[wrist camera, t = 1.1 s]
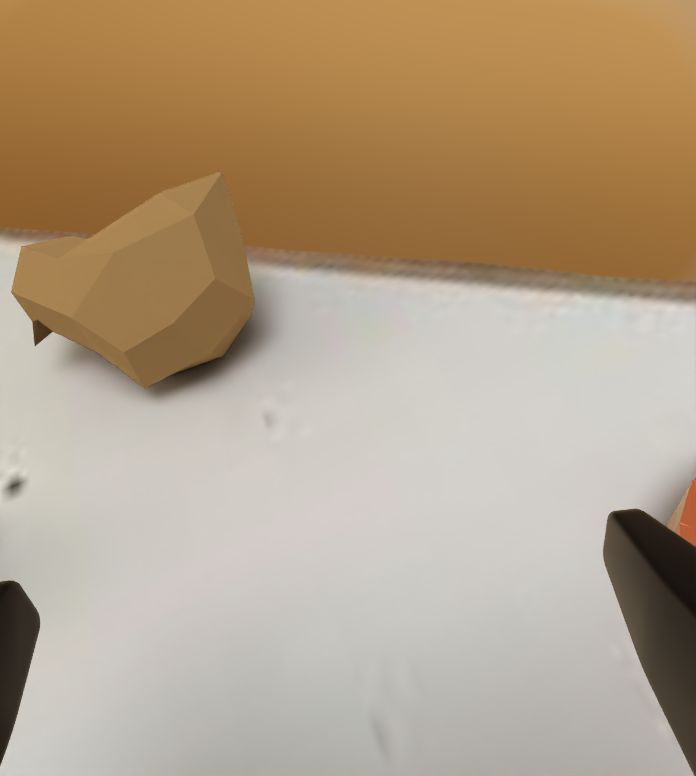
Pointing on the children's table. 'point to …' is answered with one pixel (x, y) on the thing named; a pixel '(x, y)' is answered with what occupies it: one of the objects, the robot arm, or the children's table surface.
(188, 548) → the children's table surface
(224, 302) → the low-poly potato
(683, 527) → the bowl
